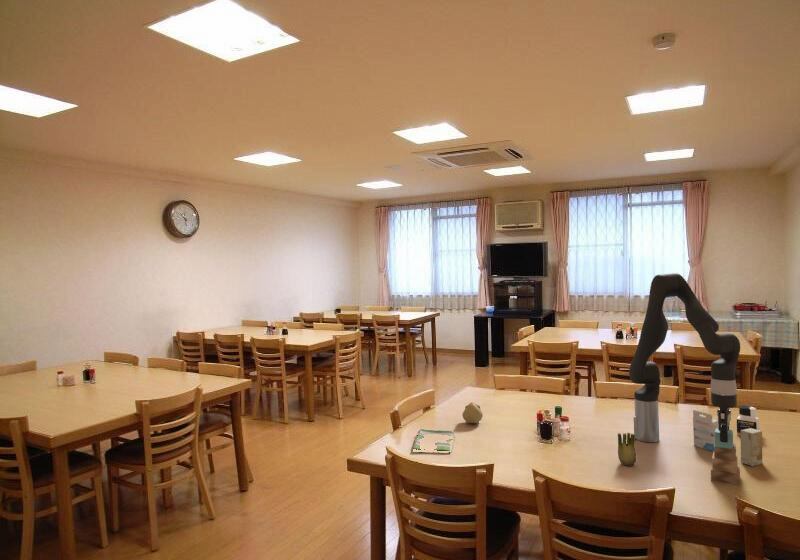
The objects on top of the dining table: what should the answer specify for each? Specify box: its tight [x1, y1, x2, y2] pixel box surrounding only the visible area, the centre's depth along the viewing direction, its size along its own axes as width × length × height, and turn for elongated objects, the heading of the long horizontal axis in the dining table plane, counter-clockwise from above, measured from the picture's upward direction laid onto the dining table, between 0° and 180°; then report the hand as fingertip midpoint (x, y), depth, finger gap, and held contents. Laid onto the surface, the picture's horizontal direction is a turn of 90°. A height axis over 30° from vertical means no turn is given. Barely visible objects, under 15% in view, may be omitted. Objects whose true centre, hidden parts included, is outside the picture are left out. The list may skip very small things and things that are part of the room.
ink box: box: [692, 409, 719, 452], centre depth 203 cm, size 9×5×15 cm, turn 23°
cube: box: [715, 428, 734, 449], centre depth 173 cm, size 5×5×5 cm
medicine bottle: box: [736, 405, 760, 436], centre depth 216 cm, size 7×7×12 cm
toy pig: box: [462, 402, 484, 424], centre depth 246 cm, size 10×12×11 cm
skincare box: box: [740, 428, 763, 467], centre depth 186 cm, size 6×4×12 cm
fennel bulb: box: [617, 432, 637, 467], centre depth 189 cm, size 6×5×12 cm
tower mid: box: [711, 451, 739, 474], centre depth 174 cm, size 7×7×4 cm
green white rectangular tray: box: [412, 428, 455, 451], centre depth 219 cm, size 17×23×4 cm
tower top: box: [713, 443, 737, 461], centre depth 173 cm, size 6×6×4 cm
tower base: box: [710, 466, 741, 487], centre depth 173 cm, size 8×8×4 cm
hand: (724, 438), depth 173 cm, fingers open, 8 cm apart
